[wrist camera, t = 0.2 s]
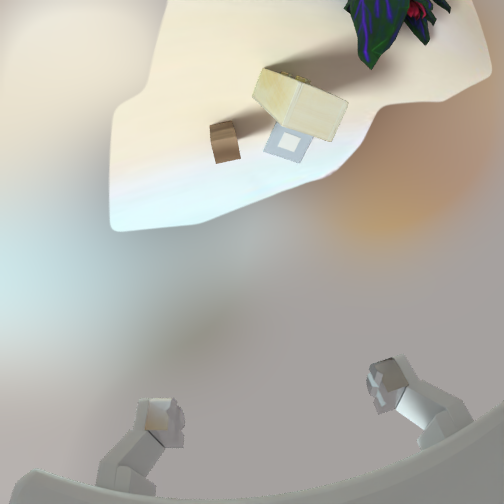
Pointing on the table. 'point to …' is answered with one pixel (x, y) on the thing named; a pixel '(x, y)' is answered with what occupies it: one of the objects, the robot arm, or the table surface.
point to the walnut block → (224, 142)
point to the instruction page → (287, 143)
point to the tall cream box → (299, 104)
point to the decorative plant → (389, 23)
